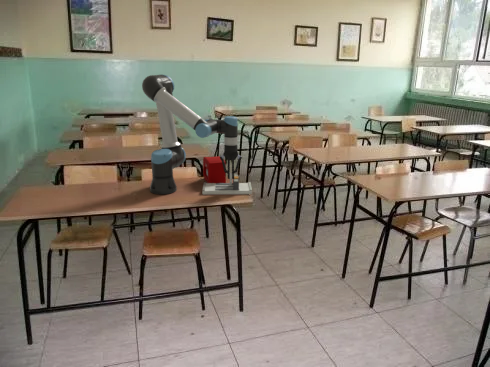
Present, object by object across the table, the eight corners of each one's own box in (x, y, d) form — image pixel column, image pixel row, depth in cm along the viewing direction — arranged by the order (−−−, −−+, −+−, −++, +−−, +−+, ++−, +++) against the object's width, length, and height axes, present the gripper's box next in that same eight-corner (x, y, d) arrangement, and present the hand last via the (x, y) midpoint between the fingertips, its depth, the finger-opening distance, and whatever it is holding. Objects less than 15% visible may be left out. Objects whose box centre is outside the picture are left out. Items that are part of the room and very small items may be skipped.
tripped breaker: (233, 186, 232) (233, 177, 231) (233, 184, 235) (233, 176, 234) (238, 186, 232) (238, 177, 231) (238, 184, 235) (238, 176, 234)
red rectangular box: (203, 178, 257) (202, 155, 253) (219, 177, 260) (219, 154, 256) (208, 185, 242) (208, 161, 238) (225, 184, 245) (225, 160, 241)
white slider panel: (202, 194, 227) (202, 181, 224) (203, 186, 241) (203, 174, 239) (251, 194, 228) (252, 181, 226) (250, 186, 242) (250, 173, 240)
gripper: (219, 145, 222) (219, 186, 229) (242, 145, 223) (242, 186, 230) (219, 142, 230) (219, 182, 236) (241, 142, 230) (241, 182, 237)
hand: (230, 184), depth 233 cm, fingers closed
